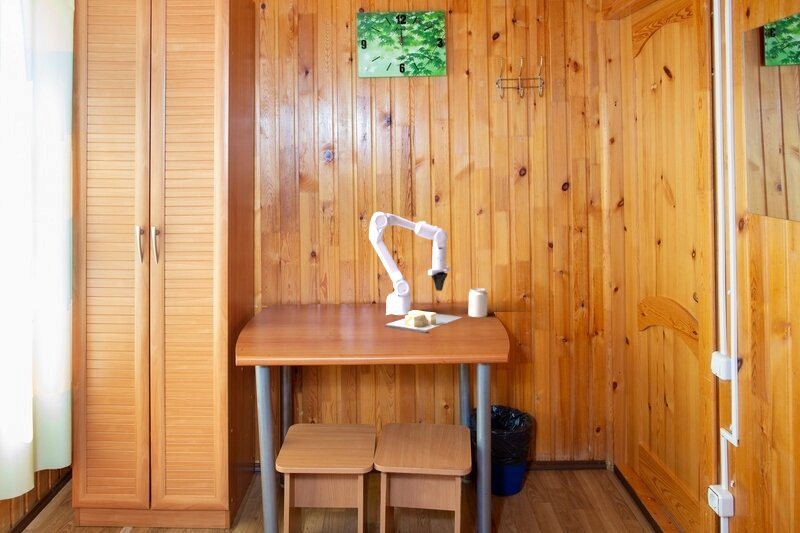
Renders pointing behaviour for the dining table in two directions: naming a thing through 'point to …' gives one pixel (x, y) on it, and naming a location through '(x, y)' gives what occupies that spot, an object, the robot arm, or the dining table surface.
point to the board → (440, 320)
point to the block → (419, 318)
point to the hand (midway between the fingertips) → (439, 290)
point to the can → (478, 302)
